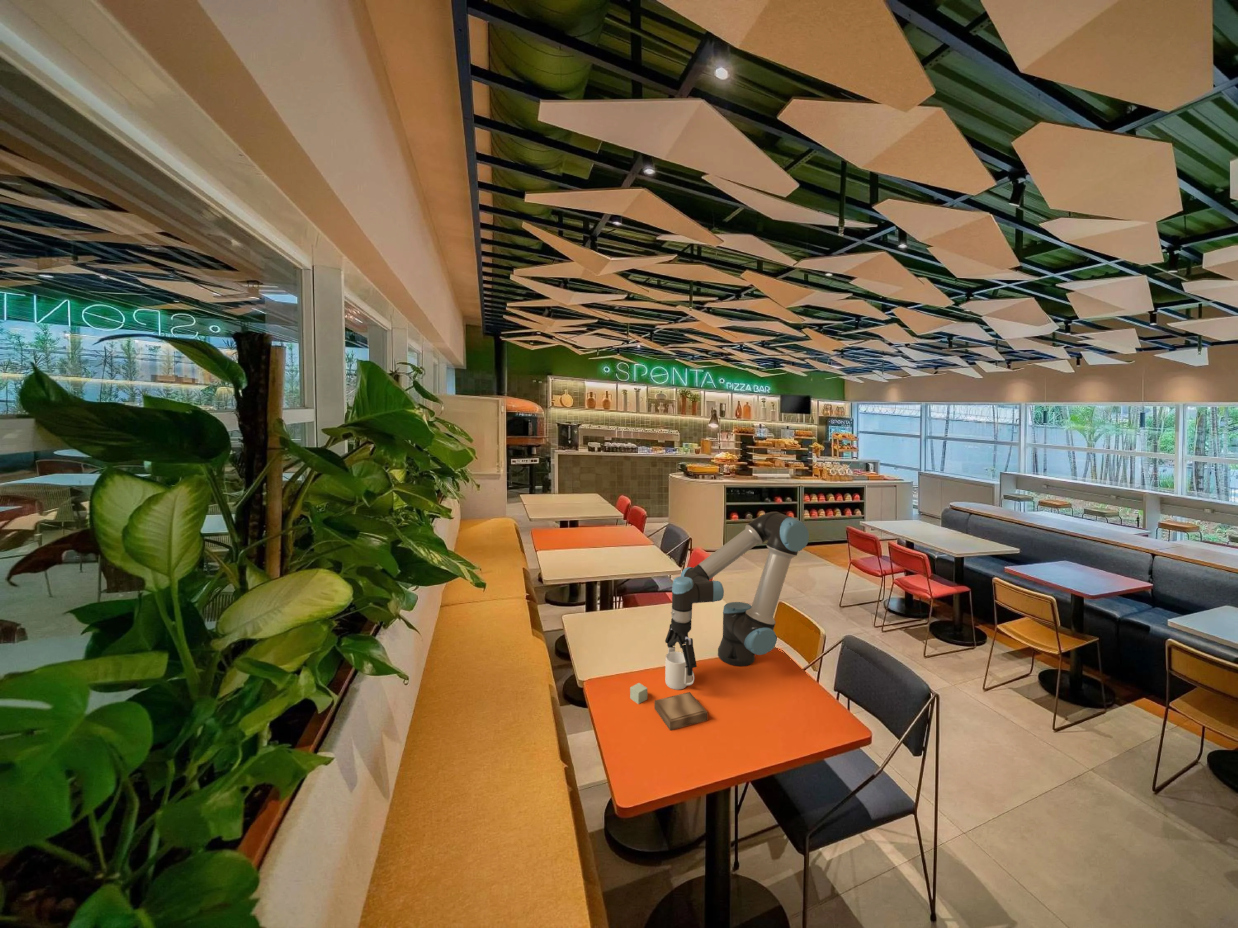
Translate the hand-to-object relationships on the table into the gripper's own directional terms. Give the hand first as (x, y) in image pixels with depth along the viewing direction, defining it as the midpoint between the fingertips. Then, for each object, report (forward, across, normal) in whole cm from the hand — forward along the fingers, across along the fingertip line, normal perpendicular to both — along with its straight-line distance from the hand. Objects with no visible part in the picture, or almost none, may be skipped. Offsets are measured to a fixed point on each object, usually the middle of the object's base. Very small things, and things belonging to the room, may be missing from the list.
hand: (679, 672), depth 176 cm
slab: (+5, +15, -7) cm, 18 cm away
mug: (+6, 0, +1) cm, 6 cm away
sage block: (+6, +2, -17) cm, 18 cm away
